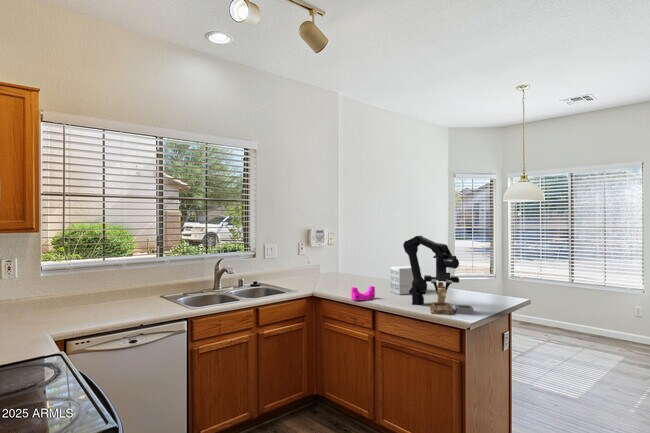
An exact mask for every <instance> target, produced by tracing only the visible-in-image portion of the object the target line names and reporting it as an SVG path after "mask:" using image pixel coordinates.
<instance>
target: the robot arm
mask: <svg viewBox="0 0 650 433" xmlns="http://www.w3.org/2000/svg"><path fill="white" fill-rule="evenodd" d="M402 245H403V250H404V252H405V253H406V254H407V255H408V259H409V265H411V269H412V274H413V282H412V288H411V289H410V290H409V293H410V294H409V295H411V298H412V300H411V301H412V302H411V305H412V306H424V305H425V296H424V295H426V294H427V293H426V292H427V289H428V283H427V282H430V284H433V286H434V289H435V293H436V295H437V294H438V290H437V285H438V283H437V282H443V283H444V282H445V285H444V286H445V289H446V293H447V291H448V289H449V286H450V285H452V284H453V283H456V284H457V283H459V284H460V278H459V277H458V276H457V275H456V276H455V275H451V272H448V271H447V268H449V269H458V268H459V266H460V261H459V259H458V258H457V256H456V255H453V254H452V252H451V250H450V249H449V247H448V245H447V244H445V243H440V242H435V241H433V240H431V239H429V238H426V237H424V236H423V235H415V236H414V237H411V238H409V239H407V240H404V242H403V244H402ZM421 245H422V246H423V247H426V248H428V249H430V250H431V251H432V253H434V254H435V255H434V256H433V257H432V258H433V259H435V276H432V275H426V274H425V275H424V276H423V277H422V272H421V266H420V264H419V259H418V255H417V254H418V250H419V248H418V247H419V246H421Z"/></svg>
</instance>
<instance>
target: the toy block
mask: <svg viewBox="0 0 650 433" xmlns="http://www.w3.org/2000/svg"><path fill="white" fill-rule="evenodd" d="M350 288H351V291H350V296H351V297H350V298H351V300H353V301H368V300H369V301H370V300H372V299H376V296H375V295H376V291H375V290H376V289H375V288H376V286H374V285H370V286H369V287H368V289H367V291H366V292H363V293H361V292H359V289H358V287H356V286H352V287H350Z"/></svg>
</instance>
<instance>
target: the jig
mask: <svg viewBox="0 0 650 433" xmlns="http://www.w3.org/2000/svg"><path fill="white" fill-rule="evenodd" d="M429 310H430V313H431V315H447V316H455V312H454V310H453V307H452V305H450V303H449V302H446V301H445V302H438V301H432V304H429Z"/></svg>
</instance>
